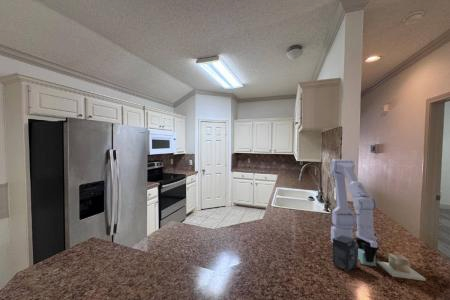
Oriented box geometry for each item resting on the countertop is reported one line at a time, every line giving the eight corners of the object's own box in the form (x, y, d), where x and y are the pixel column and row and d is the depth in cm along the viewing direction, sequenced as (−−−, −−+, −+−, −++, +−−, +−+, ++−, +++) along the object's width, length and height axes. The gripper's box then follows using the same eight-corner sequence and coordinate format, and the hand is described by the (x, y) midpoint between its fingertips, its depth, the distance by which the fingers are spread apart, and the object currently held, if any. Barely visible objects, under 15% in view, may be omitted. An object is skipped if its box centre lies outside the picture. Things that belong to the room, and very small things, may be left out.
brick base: (396, 271, 71) (395, 258, 72) (389, 265, 76) (388, 253, 76) (410, 273, 70) (409, 260, 71) (402, 267, 75) (401, 255, 75)
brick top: (363, 264, 78) (362, 252, 78) (358, 259, 82) (357, 248, 83) (375, 266, 77) (375, 254, 77) (370, 260, 81) (369, 249, 81)
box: (348, 272, 71) (347, 242, 73) (332, 265, 76) (332, 238, 77) (357, 266, 76) (356, 239, 77) (342, 260, 80) (341, 234, 82)
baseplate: (392, 276, 69) (391, 274, 69) (377, 263, 79) (377, 261, 79) (425, 280, 67) (425, 278, 67) (406, 266, 77) (406, 264, 77)
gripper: (386, 231, 73) (388, 269, 72) (367, 221, 87) (369, 253, 86) (364, 229, 75) (366, 266, 73) (350, 220, 89) (351, 251, 87)
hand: (366, 259), depth 80 cm, fingers closed on brick top, 4 cm apart
